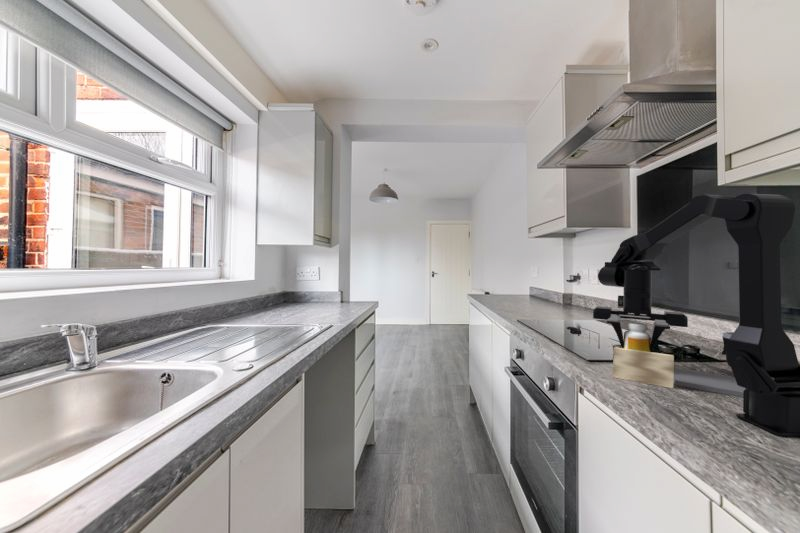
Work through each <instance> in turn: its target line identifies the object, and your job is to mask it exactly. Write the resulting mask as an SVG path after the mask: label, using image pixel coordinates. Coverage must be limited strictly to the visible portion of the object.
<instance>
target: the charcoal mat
mask: <svg viewBox="0 0 800 533" xmlns="http://www.w3.org/2000/svg"><path fill="white" fill-rule="evenodd" d="M673 384H674V386H678V387H683V388H689V387H690V389H694V388H695V390H701V391H706V392H711V393H716V392H717V393H716V394H722V395H728V396H734V397H739V398H743V391H744V390H745V389H746V388H744V387H741V386H738V385H737V382H736V380H735V377H734V376H731V375H725V374H718V373H711V372H705V371H698V370H693V369H687V368H679V367H674V379H673Z"/></svg>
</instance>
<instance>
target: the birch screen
mask: <svg viewBox="0 0 800 533" xmlns="http://www.w3.org/2000/svg"><path fill="white" fill-rule="evenodd" d="M612 357H613V362H612V364H613V365H612V366H613V367H612V368H613V369H612V375H613V376H612V377H613V378H616V379H620V380H621V379H622V380H627V381H632V382H637V383H643V384H646V385H648V384H649V385H653V386H658V387H663V388H664V387H665V388H668V389H669V388H670V389H674V380H673V379H674V368H675V367H674V366H675V363H674V362H675V356H674V354H667V353H660V352H653V351H652V352H647V351H639V350H632V349H625V348H622V347H617V346H614V347H613V356H612Z"/></svg>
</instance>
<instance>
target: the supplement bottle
mask: <svg viewBox="0 0 800 533" xmlns="http://www.w3.org/2000/svg"><path fill="white" fill-rule="evenodd" d="M626 324H627V325H626V326H627V330H625V331H623V339H624V348H625V349H632V350H639V351H647V352H650V342H651V334H649V333H648V332H646V331H647V330H648V325H647V324H646V323H643V322H633V321H632V322H627V323H626Z"/></svg>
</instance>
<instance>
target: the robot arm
mask: <svg viewBox="0 0 800 533" xmlns="http://www.w3.org/2000/svg"><path fill="white" fill-rule="evenodd" d="M795 211H796V205H795V203H794V201H793V199H790V198H788V197H787V196H785V195H783V194H782V195H781V194H767V193H765V194H764V193H741V194H739V195H736V196H735V197H732V196H724V195H721V194H699V195H696V196H693V197H692V198H691V199H690V201H689V202H688V203H687V204H685V205H684V206H683V207H681V208H680V209H678V210H677V211H675V212H674V213H672V214H671V215H669V216H668V217H667V218H664V220H663V221H660V223H658V224H657V225H655V226H654V227H652V228H651V229H650V230H647V231H646V232H643V233H642V232H641V233H638V234H635V235H632V236H630V237H629V238H626V239H624V240H622V241H621V243H620V244H619V247H618V249H617V251H616V252H615V254H614V255H613V257H612V259H611V261H605V262H604V266H603V267H601V269H600V270H598V273H597V279H598V281H599V284H601V285H603V286H608V287H618V288H623V295H617V308H618V309H622V310H614V309H613V308H612V307H609V306H601V305H600V306H596V307H595V308H594V309H592V310H593V311H592V318H593V319H596V320H603V321H604V320H606V323H607V324H610V325H611V326H612V328H613V330H614V332H615V333H616V335H617V338H618V341H619V344H620V348H624V331H623V324H622V319H630V320H639V321H651V322H653V324H652V332H651V335H650V352H653V351H654V349H655V346H657V345H656V344H657V342H658V340H659V338H660V336H662V334H663V333H664V331H665V330H670V329H671V327H681V328H688V327H689V324H688V323H689V322H688V316H687V315H686V314H685V313H684V312H679V311H665V310H664V312H663V314H662V313H654V312H653V313H652V297H653V296H652V288H653V283H652V282H653V278H652V277H653V272H659V271H661V268H660V267H659V266H658V265H657V264H655V263H654V260H655V259H657V257H659V256H660V255H661V254H662V253H663V252H664V250H665V248H666V247H667V245H668V244H670V243H672V242H673V241H675V240H677V239H678V238H680V237H681V236H683V235H686V234H687V233H688V232H690V231H691V230H694V228H696V227H698V226H699V225H702V224H703V223H704V222H707V221H708V220H710V219H711V218H719V219H723V220H724V223H725V227H726V231H727V233H728V234H729V236H730V237H731V238H732V240H733V241H734V242H735V243H736V245H737V255H738V256H737V259H738V260H737V261H738V262H737V263H738V264H737V265H738V267H737V269H738V310H739V311H738V313H739V314H738V315H739V316H738V318H739V321H738V326H736V329H735V330H734V331H733V332H731V331H730V332H723V333H722V336H721V337H722V342H723V349H722V351H721V355H723V356H725V361H726V364H727V365H728V367H730V369H731V371H732V373H733V377H735V380H736V382H737V385H738V386H741V387H744V388H746V389H745V390H744V391H743V397H742V399H743V400H742V403H743V404H742V408H743V409H742V411H743V413H736V414H735V416H736V418H739V419H740V420H743V421H745V422H747V423H749V424H752V425H754V426H756V427H758V428H761V429H763V430H765V431H768V432H770V433H771V434H773V435H777V436H780V437H781V436H785V437H787V436H788V437H789V436H791V437H792V436H795V437H797V436H798V437H799V436H800V363H799V360H798V356H797V351H796V348H795V344H794V343H793V341H792V340H791V338H790V337H789V335H787V333H786V332H785V330H784V329H783V325H782V295H781V294H782V291H781V290H782V288H781V287H782V286H781V285H782V284H781V250H780V248H781V244H782V242H783V240H784V239H785V237H786V236H787V234H788V233H789V232H790V230H791V229H792V226H793V222H794V220H793V219H794V216H795Z"/></svg>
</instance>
